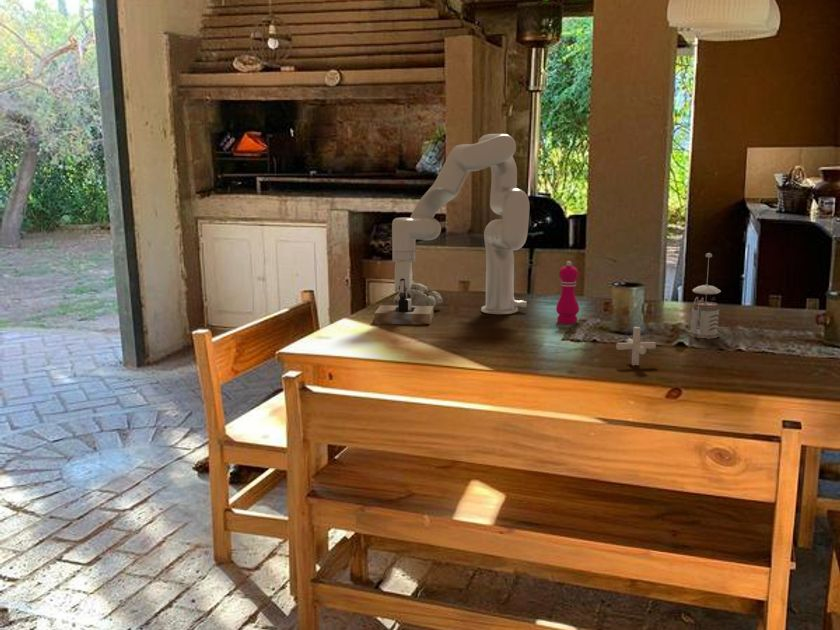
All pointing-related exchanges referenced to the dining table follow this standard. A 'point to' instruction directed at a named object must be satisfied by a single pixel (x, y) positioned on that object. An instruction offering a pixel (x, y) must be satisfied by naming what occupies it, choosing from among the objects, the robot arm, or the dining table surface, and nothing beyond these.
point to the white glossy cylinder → (409, 304)
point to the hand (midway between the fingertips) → (404, 309)
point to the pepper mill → (567, 295)
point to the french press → (705, 310)
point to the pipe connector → (636, 346)
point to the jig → (404, 315)
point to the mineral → (421, 296)
